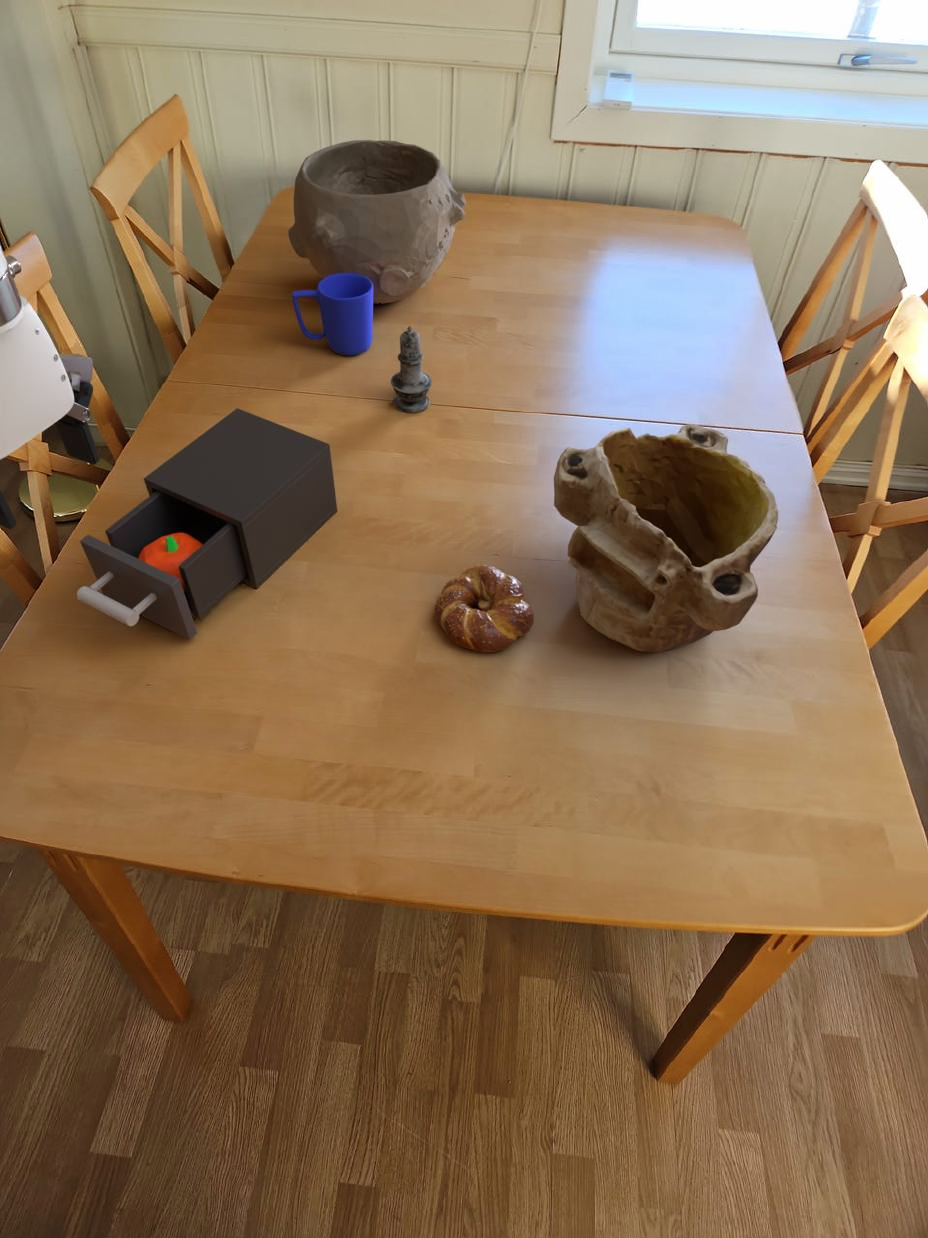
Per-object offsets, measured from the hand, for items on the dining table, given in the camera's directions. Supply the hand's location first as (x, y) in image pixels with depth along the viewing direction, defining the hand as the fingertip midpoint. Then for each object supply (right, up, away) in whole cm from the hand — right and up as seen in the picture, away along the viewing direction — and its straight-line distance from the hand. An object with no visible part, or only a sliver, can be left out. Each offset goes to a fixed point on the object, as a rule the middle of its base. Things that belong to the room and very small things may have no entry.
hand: (44, 488), depth 71 cm
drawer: (+4, -8, +22) cm, 23 cm away
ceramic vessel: (+58, -11, +22) cm, 63 cm away
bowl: (+22, +46, +71) cm, 87 cm away
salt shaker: (+29, +20, +48) cm, 60 cm away
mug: (+17, +31, +58) cm, 68 cm away
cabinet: (+11, 0, +30) cm, 32 cm away
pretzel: (+38, -11, +21) cm, 45 cm away
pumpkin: (+4, -7, +21) cm, 22 cm away
